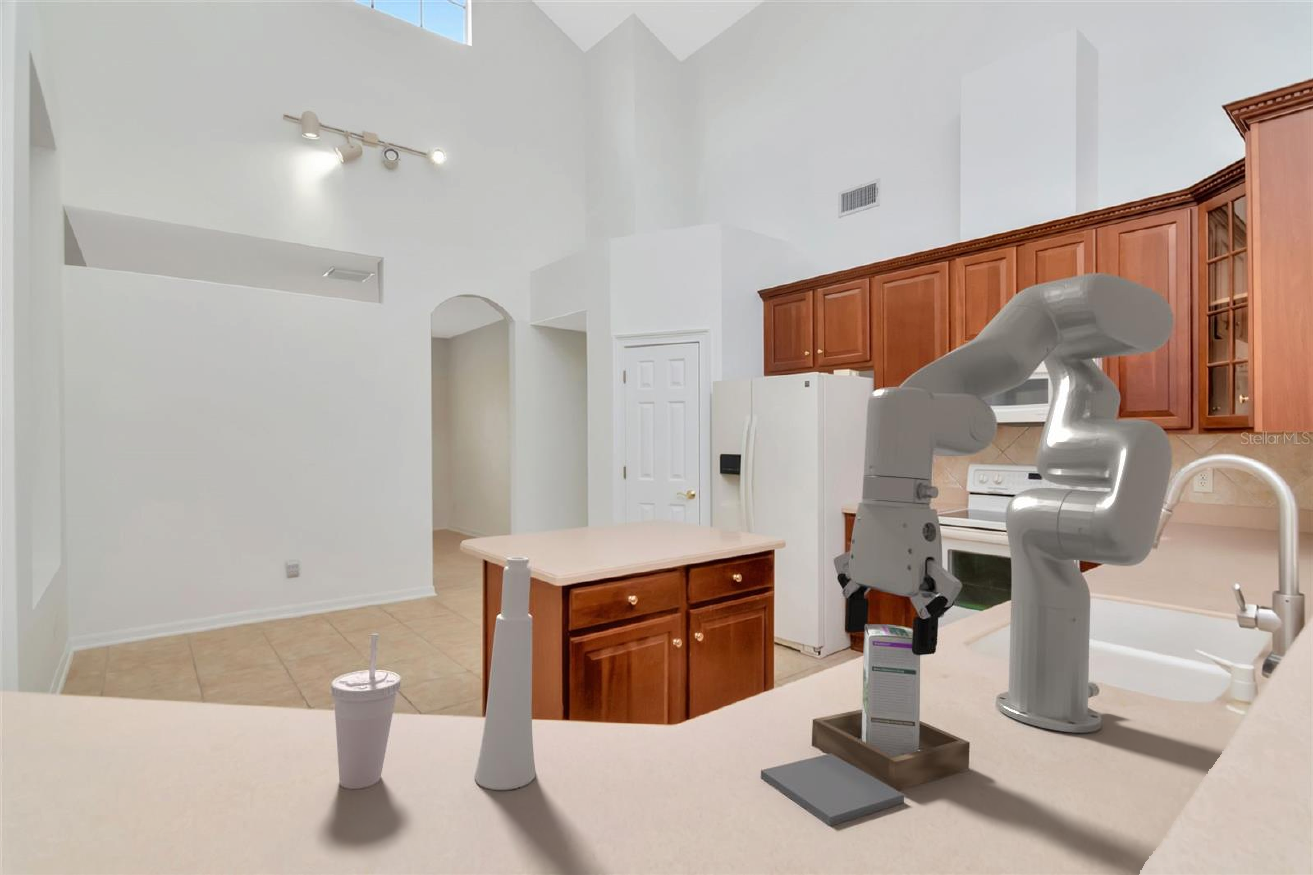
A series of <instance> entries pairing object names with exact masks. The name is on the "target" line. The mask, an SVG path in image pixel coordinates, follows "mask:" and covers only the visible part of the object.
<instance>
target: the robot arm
mask: <svg viewBox="0 0 1313 875" xmlns="http://www.w3.org/2000/svg"><path fill="white" fill-rule="evenodd" d="M1174 320H1175V319H1174V313H1173V311H1172V308H1171V306H1170V303H1169V302H1168V301H1167V300H1166V298H1165V297H1164V296H1163V295H1162V294H1160V293H1159V292H1158V291H1156V290H1154V289H1152V288H1150V287H1147V286H1145V285H1142V284H1139V283H1137V282H1135V281H1132V280H1129V279H1127V278H1124V277H1121V276H1118V275H1115V274H1111V273H1104V272H1092V273H1086V274H1080V275H1075V276H1072V277H1067V278H1061V279H1055V280H1052V281H1047V282H1042V283H1039V284H1033V285H1032V286H1031V285H1030V286H1028V287H1026V288H1024V289H1022V290H1020V291H1019V292H1018V293H1016V294H1015V295H1013V297H1012V298H1010V300H1009V301H1008V302H1007V303H1006V304H1005V305H1004V306H1003V308H1002V309H1000V311H998V313H997V314H996V315H995V316H994V317H993V318H992V319H991V320H990V321H989V322H988V324H986V325H985V327H984V328H983V329H982V330H981V331H980V332H979V333H978V334H977V335H976V336H975V337H974V338H973V339H972V340H970V341H969V342H967V343H964V344H962V345H960V346H958V347H957V348H955V349H953V350H951V351H950V352H947V354H945V355H943V356H941V357H940V358H937V359H936V360H934V361H932V362H930V363H928V364H926V365H925V366H923V367H921V368H920V369H918V370H917V371H915V372H914V373H913V374H911V375H910V376H909V377H907V378H906V379H905V380H904V381H903V382H902V383H901V384H900V385H899V386H889V387H881V388H878V389H875V390H874V391H872V392H871V394H870V395H869V397H868V400H867V407H866V408H867V410H866V411H867V412H866V413H867V414H866V427H865V428H866V429H865V444H864V446H865V447H864V463H863V478H862V479H863V480H862V494H861V495H862V496H861V498H862V499H861V502H858V506H857V510H856V514H855V518H854V523H853V528H852V534H851V540H850V549H849V550H848V551H846V552H845V553H843V554H840V555H838V556H835V557H834V558H833V564H834V568H835V571H836V574H837V581H838V583H839V585H840V587H841V589H842V595H843V597H844V599H846V605H845V623H844V631H845V632H847V633H850V634H853V633H864V627H865V624H869V606H870V605H869V604H870V601H869V598H868V597H865V596H866V595H867V594H868V593H869V592H870V590H871V589H873V590H876V591H880V592H883V593H889V594H893V595H897V596H900V597H901V596H902V597H909V599H910V602H911V603H912V605H913V607H914V609H915V610H916V612H917V614H918V616H914V618H913V620H912V621H913V622H912V623H913V624H912V630H913V636H912V652H913V654H916V655H920V656H926V655H934V654H935V653H936V652H937V645H938V635H939V634H938V632H939V619H940V618H941V619H942V618H943V617H944V616H945V613H946V612H947V611H949V610H950V609H952V607H953V606H954V604H955V600H956V599H957V598H958V595H959V593H960V592H961V590H962V588H963V584H962V582H961V581H960V580H959V579H958V578H956V576H954V575H953V574H952V573H951V572H949V571H948V570H947V569H945V568H944V566H943V546H942V542H943V541H942V534H941V533H942V532H941V526H940V524H941V523H940V520H939V515H938V510H937V508H936V509H935V508H931V503H932V502H931V501H932V499H937V498H938V496H939V488H938V487H937V486H934V485H932V482H933V481H932V479H933V465H934V464H933V463H934V456H939V457H965V456H966V457H967V456H971V455H976V454H978V453H980V452H983V451H984V450H985V449H987V448H988V447H989V446H990V445H991V443H993V441H994V440H995V437H996V435H997V431H998V421H997V417H996V414H995V411H994V410H993V408H992V407H991V406H990V404H989V403H988V402H986V400H984V399H986V398H990V397H993V396H996V395H999V394H1003V393H1005V392H1008V391H1010V390H1012V389H1016V388H1017V387H1019V386H1021V385H1023V384H1024V383H1026V382H1027V381H1028V380H1029V379H1030V378H1031V376H1033V373H1035V372H1036V371H1037V369H1038V368H1039V367H1040V365H1041V364H1042V363H1044V366H1045V368H1046V370H1047V373H1048V376H1049V378H1050V381H1051V387H1052V397H1051V401H1050V405H1049V409H1048V412H1047V416H1046V418H1045V422H1044V426H1043V428H1042V433H1041V436H1040V440H1039V443H1038V448H1037V452H1036V456H1035V465H1036V470H1037V472H1038V474H1039V475H1040V477H1041V478H1042V479H1043V480H1045V481H1047V482H1049V483H1052V484H1056V485H1061V486H1066V487H1067V486H1069V487H1070V486H1071V487H1079V488H1080V487H1081V488H1082V487H1084V488H1096V489H1097V488H1099V489H1100V488H1101V489H1104V488H1105V489H1110V490H1109V491H1103V490H1102V491H1101V490H1084V489H1075V488H1074V489H1073V488H1058V487H1056V488H1055V487H1035V488H1029V489H1026V490H1023V491H1020V492H1019V493H1017V494H1016V495H1014V496H1013V497H1012V498H1011V499H1010V501H1008V502H1009V503H1008V504H1007V506H1006V509H1005V515H1004V516H1005V520H1004V521H1005V529H1006V534H1007V535H1006V536H1007V539H1008V540H1007V541H1008V544H1009V546H1008V547H1009V554H1010V563H1011V591H1010V592H1011V593H1010V594H1011V595H1010V623H1009V624H1010V626H1009V628H1010V629H1009V662H1008V663H1009V664H1008V670H1009V671H1008V691H1005V692H1002V693H1000V694H998V695H997V696H996V697H995V706H996V707H997V709H998V710H999V711H1000V712H1001V713H1003V714H1004V715H1006V716H1008V717H1009V718H1010V717H1011V718H1012V719H1014V720H1017V721H1019V722H1022V723H1024V724H1028V725H1030V726H1035V727H1038V728H1042V729H1047V730H1052V731H1058V732H1063V733H1064V732H1065V733H1074V734H1075V733H1077V734H1083V733H1084V734H1085V733H1094V732H1097V731H1098V730H1100V729H1101V727H1102V718H1101V716H1100V714H1098V713H1097V712H1096V711H1095V710H1093V709H1092V708H1089V707H1088V706H1089V699H1090V698H1093V697H1097V696H1098V695H1099V694H1100V688H1099V686H1098V685H1097V684H1096V683H1094V682H1093V681H1092V682H1089V675H1090V673H1089V670H1090V669H1089V668H1090V635H1091V634H1090V629H1091V628H1090V627H1091V592H1090V587H1089V585H1088V582H1087V580H1086V579H1085V576H1084V575H1083V573H1082V571H1081V570H1080V568H1079V567H1078V565H1077V564H1076V562H1075V561H1080V562H1089V563H1095V564H1102V565H1107V566H1109V565H1110V566H1119V567H1131V566H1136V565H1139V564H1141V563H1142V562H1144V561H1145V560H1146V559H1147V558H1148V556H1149V554H1150V553H1151V550H1152V548H1153V545H1154V542H1155V539H1156V536H1157V531H1158V528H1159V523H1160V520H1161V516H1162V510H1163V506H1164V502H1165V498H1166V494H1167V490H1168V486H1169V482H1170V477H1171V471H1172V467H1173V466H1172V465H1173V463H1172V462H1173V456H1172V454H1173V453H1172V452H1173V451H1172V447H1171V446H1172V445H1171V441H1170V439H1169V437H1168V434H1167V433H1166V431H1165V430H1164V429H1163V428H1162V427H1161V426H1160V425H1158V424H1156V423H1155V422H1153V421H1150V420H1146V419H1140V418H1139V419H1137V418H1124V419H1123V418H1120V419H1119V418H1118V414H1119V409H1120V405H1121V393H1120V390H1119V389H1118V387H1117V385H1116V383H1114V382H1113V380H1112V379H1111V378H1110V377H1109V376H1108V374H1106V373H1105V372H1104V371H1103V369H1101V368H1100V367H1099V366H1098V364H1096V362H1095V361H1094V360H1095V359H1104V358H1115V357H1122V356H1123V357H1124V356H1132V355H1142V354H1147V353H1152V352H1154V351H1158V350H1159V349H1160V348H1162V347H1163V346H1165V344H1166V343H1167V342H1168V341H1169V340H1170V338H1171V336H1172V333H1173V330H1174V324H1175V323H1174V322H1175V321H1174ZM1093 359H1094V360H1093ZM1117 418H1118V419H1117Z"/></svg>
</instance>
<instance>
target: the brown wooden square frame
mask: <svg viewBox="0 0 1313 875" xmlns="http://www.w3.org/2000/svg"><path fill="white" fill-rule="evenodd" d="M811 725H812V729H811V746H813V748H814V747H815V748H816V749H818V750H820V751H821V752H823V753H825V754H833V755H835V756H836V757H838V758H840V759H842V760H844V761H845V762H847V763H849V764H851V765H853V766H854V767H856V768H858V769H860V770H861V771H863V772H865V773H867V774H869V775H870V776H872V777H874V778H876V779H877V780H879V781H881V782H883V783H885V784H886V785H888V786H890V787H892V788H894V789H895V790H897V791H899V792H900V791H902V790H904V789H909V788H911V787H912V788H913V787H915V786H918V785H919V786H920V785H921V784H926V783H929V782H932V781H935V780H939V779H942V778H946V777H948V776H951V775H955V774H959V773H963V772H965V771H969V770H970V750H971V749H970V747H971V746H970V745H971V743H970V741H968V740H965V739H964V738H961V737H958V736H956V735H954V734H952V733H949V732H947V731H944V730H942V729H940V728H938V727H935V726H934V725H930V724H928V723H926V722H924V721H921V720H920V723H919V751H917V752H913V753H910V754H906V755H902V756H898V757H893V756H891V755H889V754H887V753H885V752H883V751H881V750H879V749H877V748H875V747H873V746H871V745H869V744H867V743H865V742H863V741H862V739H859V738H862V709H861V708H860V709H857V710H853V711H852V710H851V711H847V712H842V713H837V714H833V715H826V716H823V717H819V718H818V717H817V718H813V719H812V724H811Z"/></svg>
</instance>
